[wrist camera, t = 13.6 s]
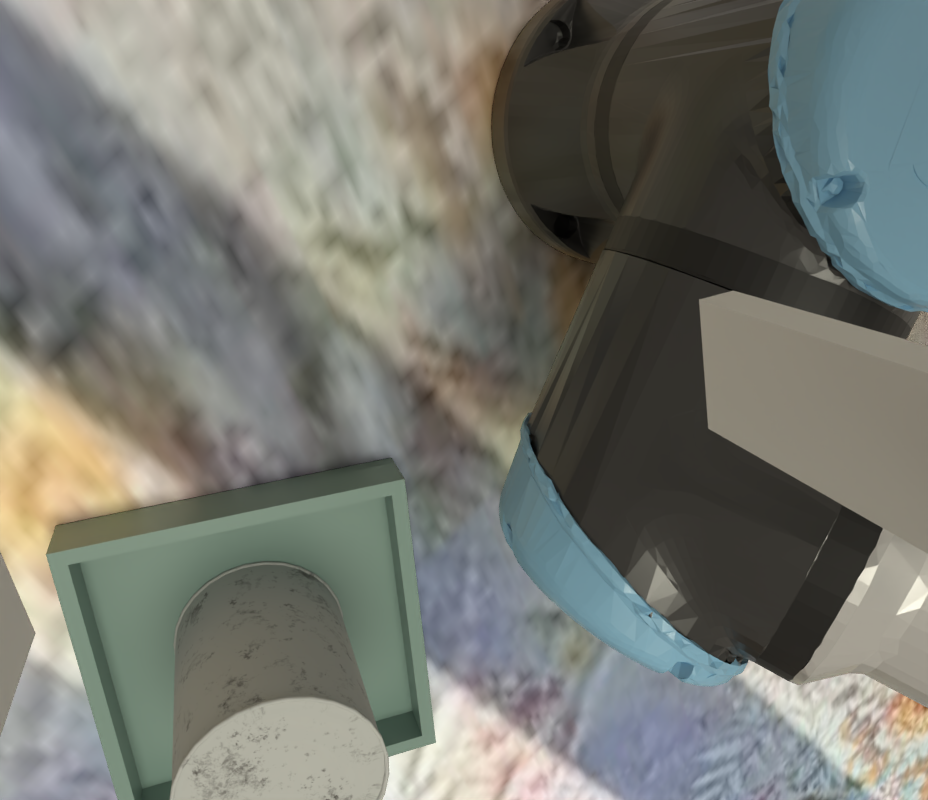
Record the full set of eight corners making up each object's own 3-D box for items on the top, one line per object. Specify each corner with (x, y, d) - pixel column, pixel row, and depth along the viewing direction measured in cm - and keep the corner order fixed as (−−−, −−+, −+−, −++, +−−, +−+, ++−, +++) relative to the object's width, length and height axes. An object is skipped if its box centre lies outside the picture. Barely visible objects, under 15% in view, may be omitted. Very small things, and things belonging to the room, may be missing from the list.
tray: (391, 457, 47) (404, 479, 44) (422, 709, 53) (435, 742, 50) (55, 525, 42) (46, 554, 39) (131, 793, 48) (128, 835, 45)
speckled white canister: (304, 532, 46) (341, 660, 35) (367, 657, 50) (419, 808, 38) (141, 610, 44) (126, 770, 33) (219, 732, 48) (229, 913, 37)
